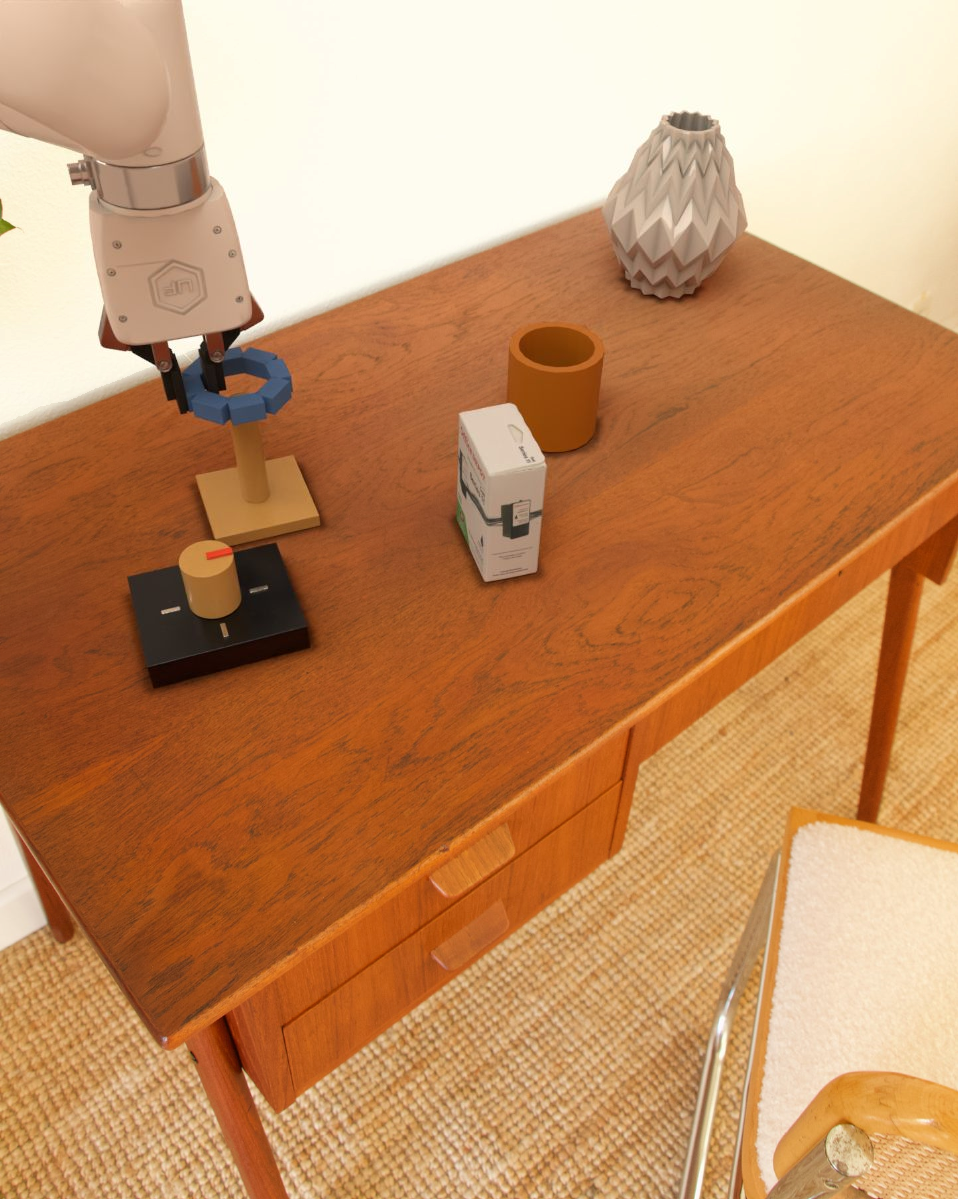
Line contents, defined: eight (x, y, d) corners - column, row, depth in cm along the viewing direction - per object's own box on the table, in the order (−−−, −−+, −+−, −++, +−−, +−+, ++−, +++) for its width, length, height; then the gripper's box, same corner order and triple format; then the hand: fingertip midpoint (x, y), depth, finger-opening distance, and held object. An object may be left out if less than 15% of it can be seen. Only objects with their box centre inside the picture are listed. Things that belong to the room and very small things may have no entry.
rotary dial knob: (194, 624, 77) (183, 579, 74) (184, 589, 80) (173, 544, 76) (246, 611, 78) (238, 566, 75) (235, 577, 81) (226, 532, 77)
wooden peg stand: (217, 549, 87) (195, 443, 79) (197, 485, 92) (174, 380, 84) (320, 525, 89) (309, 420, 81) (294, 464, 95) (281, 361, 87)
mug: (630, 410, 103) (643, 331, 96) (558, 465, 96) (567, 384, 90) (560, 376, 107) (568, 298, 100) (486, 426, 100) (489, 346, 94)
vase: (721, 252, 127) (754, 96, 113) (739, 321, 115) (778, 156, 102) (590, 245, 127) (609, 88, 114) (595, 314, 115) (616, 148, 102)
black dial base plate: (153, 688, 76) (146, 665, 74) (133, 598, 82) (126, 574, 80) (310, 647, 79) (307, 624, 77) (279, 563, 86) (276, 540, 84)
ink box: (453, 518, 90) (455, 407, 82) (506, 509, 92) (514, 398, 83) (483, 585, 85) (489, 473, 76) (539, 574, 86) (550, 462, 77)
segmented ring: (196, 433, 79) (192, 416, 77) (176, 375, 84) (172, 358, 83) (302, 411, 81) (300, 394, 80) (276, 356, 86) (274, 339, 85)
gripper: (32, 213, 64) (101, 448, 77) (281, 179, 68) (306, 408, 81) (22, 164, 68) (89, 394, 82) (256, 136, 73) (283, 358, 86)
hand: (197, 399), depth 81 cm, fingers closed on segmented ring, 2 cm apart
